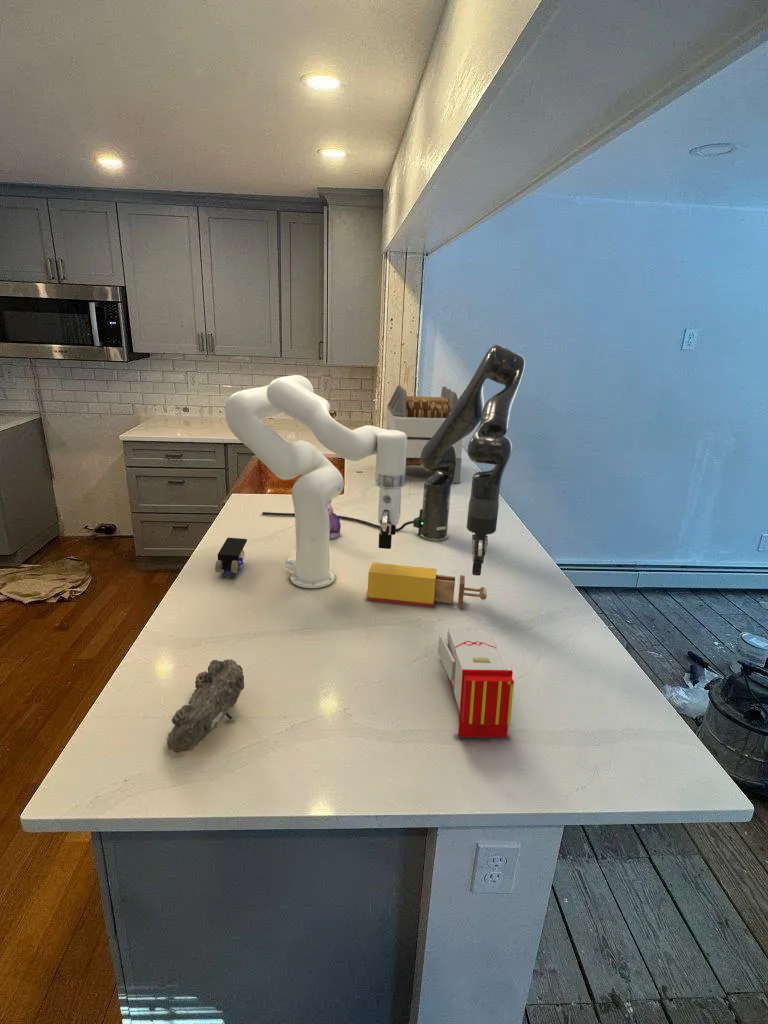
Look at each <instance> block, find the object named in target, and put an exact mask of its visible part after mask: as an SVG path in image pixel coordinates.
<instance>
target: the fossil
mask: <svg viewBox="0 0 768 1024" xmlns="http://www.w3.org/2000/svg"><path fill="white" fill-rule="evenodd" d="M243 670H244V669H243V667H242V665H240V664H237V662H236V661H235V660H234V659H232V658H231V659H227V658H226V659H224V660H223V661H222V660H217V659H212V660H211V661H210V663H209V665H208V666H207V671H201V672H199V673H198V674H197V675H196V676H195V680H194V684H195V685H194V687H195V689H194V690H193V693H192V694H191V697H190V698H189V700H188V704H184V705H182V706H181V707H180V709H177V710H176V711H175V713H174V715H173V716H172V718H171V723H172V724H173V727H172V730H171V731H170V732H168V734H167V738H166V741H167V742H166V745H167V749H168V750H169V751H173V752H174V753H176V754H178V753H182V752H188V751H189V752H192V751H193V750H195V748H196V747H197V746H199V744H200V743H201V742H203V741H204V740H205V739H206V738H207V737H208V736H209V735H210V734H211V733H212V732H214V730H215V729H217V727H218V726H219V724H220V722H221V721H222V720H223V719H224V718H225V716H226V717H227V719H229V720H233V717H232V715H230V714H229V710H230V709H231V708H234V706H235V704H236V703H237V702H238V699H239V697H240V695H241V693H242V691H243V690H245V689H244V688H245V675H244V671H243Z"/></svg>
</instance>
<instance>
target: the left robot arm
mask: <svg viewBox="0 0 768 1024" xmlns="http://www.w3.org/2000/svg"><path fill="white" fill-rule="evenodd" d="M330 410H331V403H330V402H329V401H328V400H327V399H326V398H325V397H323V396H321V395H318V394H316V393H314V387H313V385H312V383H311V381H310V380H309V379H308V378H307V377H306V376H304V375H299V374H292V375H286V376H280V377H277V378H275V379H273V380H272V381H271V382H270V383H269V384H267V385H263V386H257V387H252V388H246V389H242V390H239V391H236V392H234V393H233V394H231V395H230V396H229V397H228V399H227V400H226V402H225V405H224V417H225V420H226V421H225V422H226V423H227V426H228V429H229V430H230V431H231V432H232V434H233V435H234V437H236V438H237V439H238V440H239V442H241V443H242V444H243V445H244V446H246V447H247V448H248V449H249V450H250V451H251V452H252V453H253V454H254V456H256V458H258V460H260V462H262V464H263V465H265V467H266V468H268V470H269V471H270V472H271V473H273V475H275V477H277V478H278V479H280V480H283V481H289V480H292V479H295V478H297V477H299V478H298V479H296V481H295V482H294V483H293V486H292V488H291V499H292V504H293V509H294V513H295V516H294V526H295V527H294V528H295V529H294V530H295V560H293V559H288V558H287V559H285V561H284V569H286V570H291V571H292V572H291V574H290V581H291V583H292V584H294V585H295V586H297V587H299V588H303V589H320V588H324V587H327V586H329V585H331V584H332V583H333V582H334V581H335V573H334V571H332V570H331V569H330V522H329V515H328V512H327V509H326V503H327V502H329V501H330V500H332V501H333V499H336V497H338V496H339V495H341V494H342V492H343V490H344V488H345V479H344V477H343V475H342V473H341V471H340V470H339V469H338V468H337V467H336V466H335V465H334V464H333V463H332V462H331V461H330V460H329V459H328V458H327V457H326V456H325V455H324V454H323V453H322V452H321V451H320V450H319V449H318V448H317V447H316V446H315V445H313V443H311V442H309V441H306V440H302V439H301V440H300V439H299V440H294V441H291V442H288V441H286V440H285V439H283V437H282V436H281V435H279V434H278V432H277V431H276V430H274V429H273V428H272V427H271V426H269V425H267V424H265V423H263V422H262V421H261V420H260V419H264V418H267V417H272V416H275V415H278V414H281V413H284V414H286V415H287V416H288V417H290V418H292V419H294V420H295V421H297V422H299V423H300V424H302V425H304V426H305V427H307V428H308V429H310V430H311V432H312V434H313V435H314V436H315V438H316V440H318V442H319V443H320V444H321V445H322V446H323V447H324V448H326V449H327V450H329V451H330V452H332V453H333V454H335V455H337V456H338V457H341V458H342V459H345V460H347V461H351V462H359V461H361V460H363V459H365V458H367V457H370V456H373V455H375V457H376V459H375V461H376V462H375V486H376V487H378V488H379V491H378V516H377V519H378V525H380V528H379V533H378V548H379V549H385V550H390V549H392V536H395V535H396V532H397V531H396V529H397V525H399V524H398V523H399V521H400V518H401V510H402V508H401V505H402V488H404V487H405V486H406V470H407V469H406V467H407V465H406V452H407V436H406V434H405V433H404V432H402V431H398V430H386V428H382V427H378V426H376V425H371V424H367V425H363V426H360V427H357V428H354V429H350V428H348V427H346V426H345V425H343V424H342V423H340V422H338V421H336V420H335V419H334V418H333V417H332V415H331V414H330Z"/></svg>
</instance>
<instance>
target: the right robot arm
mask: <svg viewBox="0 0 768 1024" xmlns="http://www.w3.org/2000/svg"><path fill="white" fill-rule="evenodd" d="M525 366H526V360H525V358H524V357H523V355H521V354H519V353H518V352H515V351H513V350H511V349H509V348H507V347H506V346H505V347H504V346H502V345H500V344H493V345H491V346H490V348H488V350H487V352H486V353H485V354H484V356H483V358H482V360H481V361H480V363H479V365H478V367H477V368H476V370H475V373H474V374H473V376H472V377H471V379H470V381H469V382H468V384H467V386H466V387H465V389H464V391H462V393H461V395H460V396H459V398H458V401H457V402H456V403H455V405H454V406H453V408H452V409H451V411H450V413H449V414H448V416H447V418H446V419H445V421H444V422H443V423H442V425H441V426H440V428H439V429H438V431H437V432H436V433H435V434H434V436H433V437H432V438H431V439H430V440H429V441H428V443H427V444H426V445H425V446H424V448H423V450H422V452H421V456H420V463H421V466H420V467H422V469H423V470H424V471H427V472H434V473H433V474H432V475H431V476H429V477H428V478H426V479H425V480H424V482H423V493H422V496H423V497H422V506H421V508H420V509H419V516H417V517H415V518H413V520H409V521H407V522H405V523H403V524H402V525H401V526H400V527H398V528H397V527H396V532H400V531H402V530H404V528H405V527H407V526H408V525H412V527H413V528H416V529H418V530H417V535H418V536H420V538H421V539H424V540H426V541H432V542H440V541H444V540H446V539H447V538H448V525H449V517H450V516H449V514H450V504H451V494H452V493H451V491H452V486H453V484H454V483H453V481H454V474H455V467H456V451H455V448H454V446H453V445H454V444H455V443H457V442H458V441H460V440H463V439H465V438H466V437H467V436H469V435H470V434H471V433H472V432H473V431H474V430H475V429H476V428H477V429H476V430H475V432H474V433H473V435H472V436H471V437H470V440H469V442H468V445H467V457H468V458H469V459H470V461H471V462H473V463H476V464H485V465H494V467H493V468H491V469H490V470H483V471H477V472H475V473H474V474H473V475H472V480H471V489H470V496H469V501H468V508H467V518H466V519H467V520H466V529H467V530H468V531H469V532H470V533H472V536H471V553H472V569H471V574H472V576H478V577H479V576H481V575H482V566H483V564H484V562H485V561H484V560H485V556H486V553H487V547H488V545H489V539H488V537H489V535H493V534H495V533H496V531H497V525H498V517H499V516H498V515H499V507H500V503H499V502H500V501H499V499H500V490H501V483H502V478H503V475H504V472H505V469H506V467H507V464H508V463H509V460H510V458H511V456H512V452H513V444H512V441H511V440H510V438H508V437H507V436H505V435H506V434H507V432H508V429H509V422H510V416H511V411H512V406H513V403H514V401H515V398H516V396H517V392H518V389H519V387H520V384H521V381H522V377H523V375H524V371H525V368H526V367H525ZM487 379H488V380H490V381H493V382H495V383H497V384H499V385H501V386H504V388H503V389H502V390H500V391H499V392H497V393H496V394H494V395H492V396H491V397H490V398H488V400H487V401H486V402H485V399H484V383H485V381H486V380H487ZM477 426H478V427H477ZM261 515H262V516H263V515H264V516H282V517H284V516H285V517H295V512H271V511H270V512H269V511H262V513H261ZM336 515H337V516H338V518H339V519H340V520H341V519H342V520H347V521H353V522H357V523H360V524H364V525H367V526H370V527H373V528H378V529H380V524H376V523H373V522H370V521H365V520H364V519H363V520H362V519H358V518H355V517H349V516H344V515H338V514H336Z"/></svg>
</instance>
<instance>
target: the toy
mask: <svg viewBox="0 0 768 1024" xmlns="http://www.w3.org/2000/svg"><path fill="white" fill-rule="evenodd" d="M446 640H447V643H446V641H445V639H444V636H443V635H442V634H439V637H438V646H437V656H438V657H439V659H440V661H441V663H442V666H443V668H444V670H445V672H446V674H447V677H448V679H449V681H450V684H451V687H452V690H453V693H454V697H455V701H456V705H457V708H458V711H459V714H458V715H459V716H458V730H457V731H458V732H457V737H458V738H508V731H509V726H510V725H511V717H512V707H513V697H514V696H513V695H514V684H515V680H514V679H513V673H514V671H513V670H512V669H508V667H507V665H506V662H505V661H504V659H503V658H502V655H501V653H500V651H499V649H498V647H497V643H496V639H495V637H494V635H493V634H491V632H490V631H489V629H467V628H466V629H465V628H463V629H461V628H460V629H459V628H448V630H447V639H446Z"/></svg>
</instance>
